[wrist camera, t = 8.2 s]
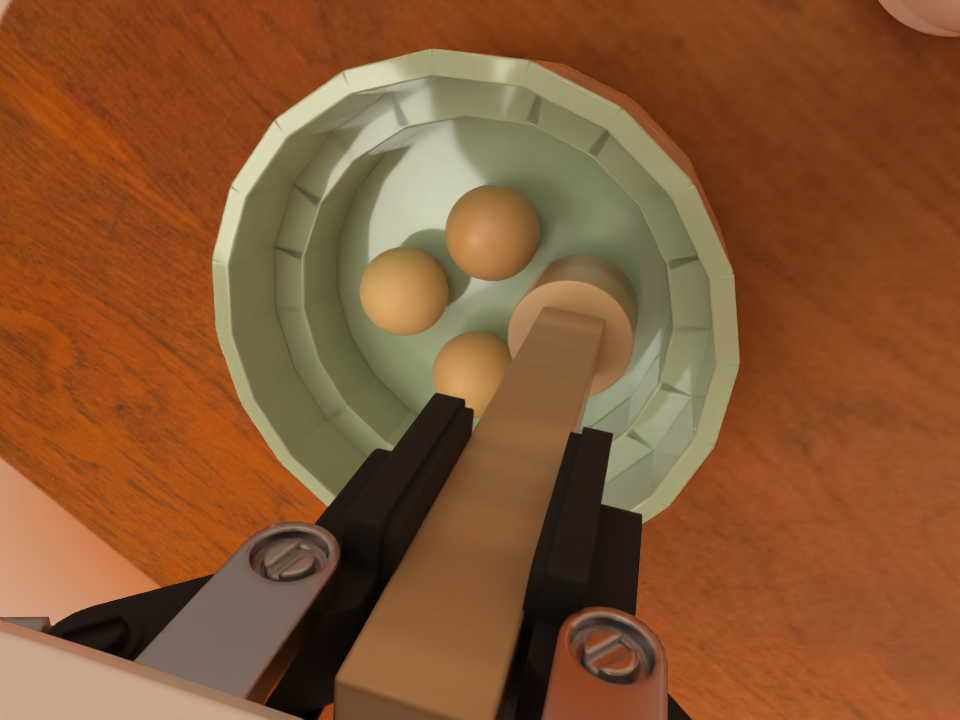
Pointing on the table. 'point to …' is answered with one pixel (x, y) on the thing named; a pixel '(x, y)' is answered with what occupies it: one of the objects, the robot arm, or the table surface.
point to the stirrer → (492, 512)
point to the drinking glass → (927, 15)
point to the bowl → (471, 302)
